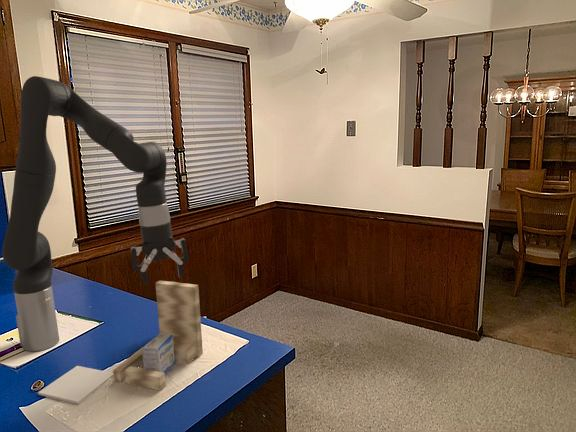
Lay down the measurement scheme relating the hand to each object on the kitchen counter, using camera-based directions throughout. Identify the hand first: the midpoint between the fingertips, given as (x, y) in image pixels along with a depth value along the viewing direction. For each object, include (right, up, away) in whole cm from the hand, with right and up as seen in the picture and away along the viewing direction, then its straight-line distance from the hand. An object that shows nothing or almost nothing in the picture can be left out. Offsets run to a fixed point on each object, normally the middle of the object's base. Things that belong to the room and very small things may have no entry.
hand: (163, 280), depth 115 cm
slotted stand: (0, -22, -1) cm, 22 cm away
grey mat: (-19, -24, -9) cm, 32 cm away
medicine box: (0, -23, -4) cm, 23 cm away
